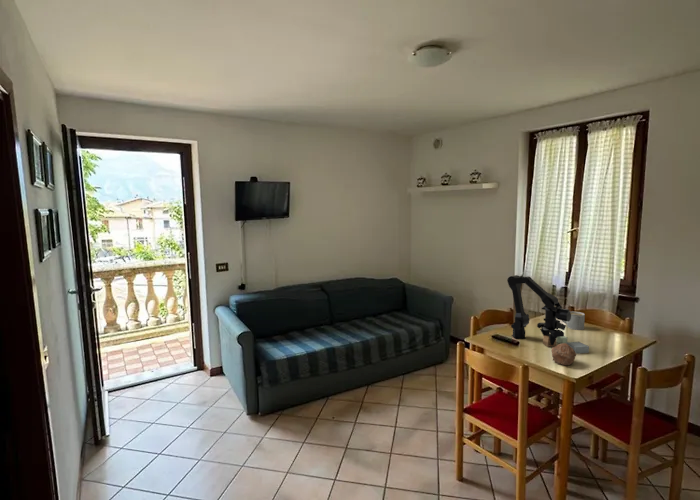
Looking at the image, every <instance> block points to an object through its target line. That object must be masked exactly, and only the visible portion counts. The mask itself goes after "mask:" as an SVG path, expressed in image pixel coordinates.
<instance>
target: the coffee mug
mask: <svg viewBox="0 0 700 500" xmlns="http://www.w3.org/2000/svg"><path fill="white" fill-rule="evenodd" d="M570 313H571V319H570V321H569V322H568V321H563V320H561V321H562V322H561V323H563V324H566V327H567V328H568V329H570V330H574V331H583V330H585V318H586V317H585V316H586V315H585V313H584V312H580V311H570Z"/></svg>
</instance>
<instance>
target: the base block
mask: <svg viewBox="0 0 700 500" xmlns="http://www.w3.org/2000/svg"><path fill="white" fill-rule="evenodd" d="M566 344H568V345H569V346H570V347H571V348H573V349H574V351H575V352H576V355H577V354H589V352H590V345H587V344H586V343H583V342H581V341H570V342H569V341H567V342H566Z"/></svg>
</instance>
